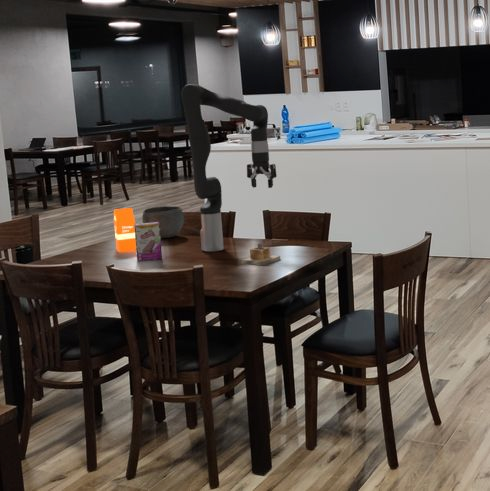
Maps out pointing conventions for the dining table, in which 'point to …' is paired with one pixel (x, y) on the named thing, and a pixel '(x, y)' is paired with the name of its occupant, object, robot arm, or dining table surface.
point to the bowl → (165, 219)
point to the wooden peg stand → (260, 262)
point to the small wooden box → (260, 253)
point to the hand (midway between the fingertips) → (262, 187)
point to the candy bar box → (148, 241)
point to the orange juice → (124, 230)
